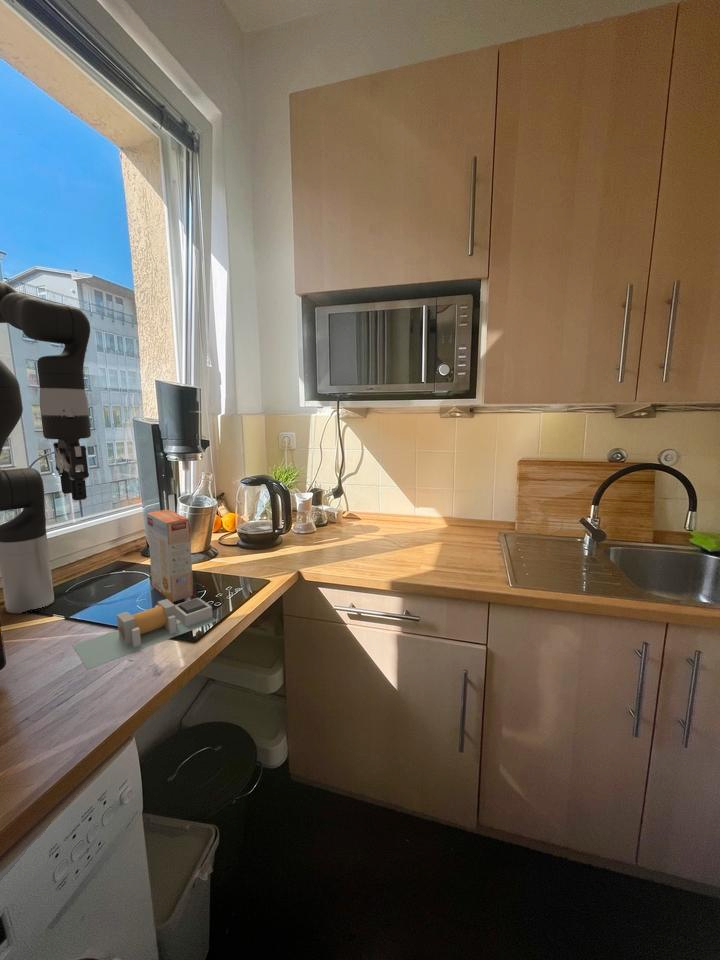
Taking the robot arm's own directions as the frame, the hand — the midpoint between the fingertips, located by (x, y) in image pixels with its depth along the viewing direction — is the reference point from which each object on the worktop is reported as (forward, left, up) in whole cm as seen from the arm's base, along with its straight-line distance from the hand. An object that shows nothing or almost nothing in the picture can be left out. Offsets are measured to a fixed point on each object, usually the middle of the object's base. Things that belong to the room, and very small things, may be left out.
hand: (74, 496), depth 82 cm
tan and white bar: (+8, +9, -29) cm, 32 cm away
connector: (+8, +18, -29) cm, 36 cm away
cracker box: (-9, +21, -30) cm, 38 cm away
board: (+8, +9, -30) cm, 33 cm away
